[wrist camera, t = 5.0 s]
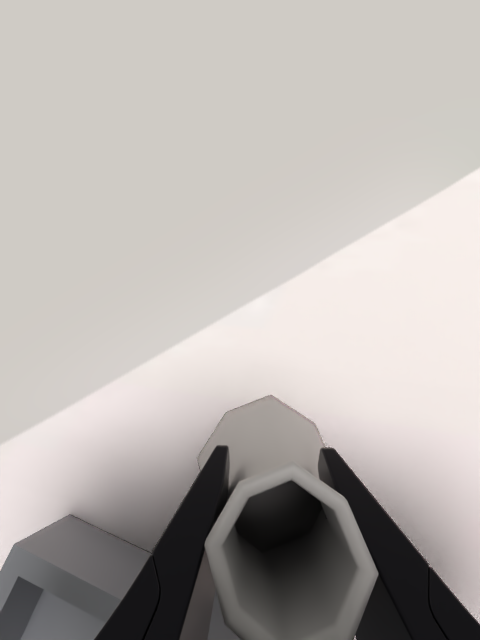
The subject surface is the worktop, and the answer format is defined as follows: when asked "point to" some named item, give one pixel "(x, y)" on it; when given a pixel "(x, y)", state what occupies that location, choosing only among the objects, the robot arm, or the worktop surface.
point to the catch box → (72, 583)
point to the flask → (284, 533)
